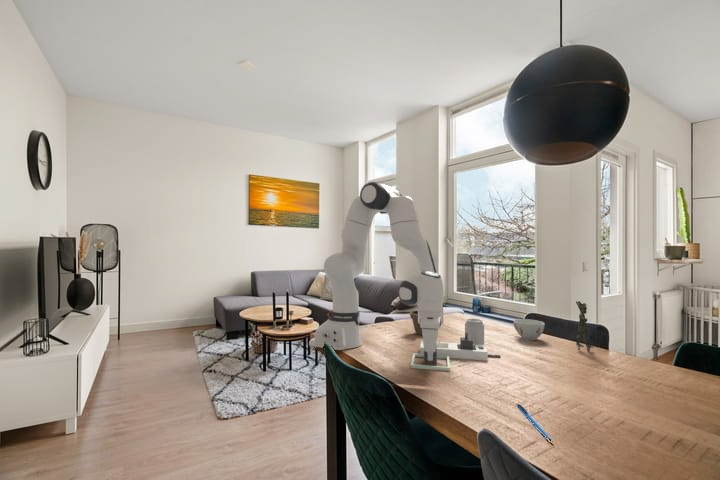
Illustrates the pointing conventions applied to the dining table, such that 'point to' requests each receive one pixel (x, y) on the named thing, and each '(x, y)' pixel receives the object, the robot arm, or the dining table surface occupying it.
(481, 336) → the can
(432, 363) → the dark grey block
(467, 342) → the twin plug
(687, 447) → the dining table surface
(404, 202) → the robot arm
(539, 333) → the teacup
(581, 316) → the statue
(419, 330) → the flower pot
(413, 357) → the tray
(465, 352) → the white power strip
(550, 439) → the pen
